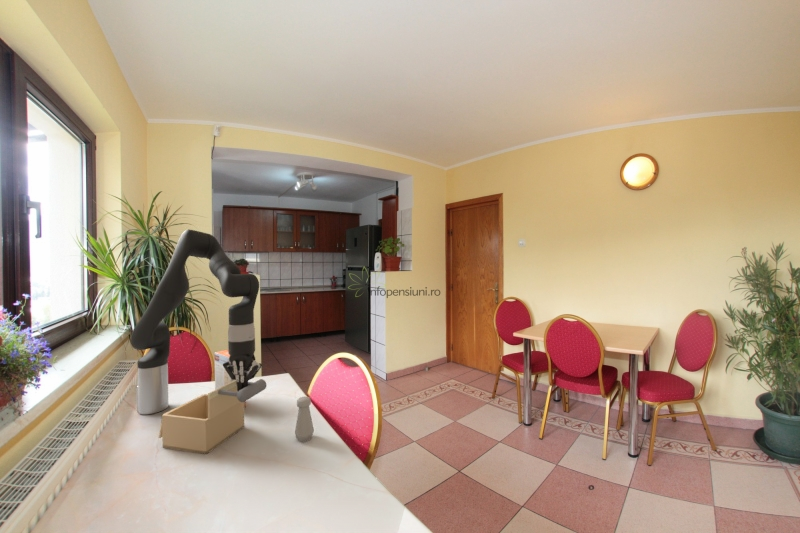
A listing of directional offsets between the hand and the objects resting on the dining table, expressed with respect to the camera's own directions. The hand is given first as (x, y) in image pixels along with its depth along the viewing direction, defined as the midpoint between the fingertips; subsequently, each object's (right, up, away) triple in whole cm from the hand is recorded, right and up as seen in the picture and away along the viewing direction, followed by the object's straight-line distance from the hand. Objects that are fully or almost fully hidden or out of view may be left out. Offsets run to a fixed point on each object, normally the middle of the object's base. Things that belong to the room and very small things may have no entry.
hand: (242, 392), depth 101 cm
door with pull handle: (-6, -1, +1) cm, 6 cm away
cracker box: (-18, -16, +26) cm, 35 cm away
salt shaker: (+19, -16, +2) cm, 24 cm away
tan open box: (-15, -16, +4) cm, 22 cm away
